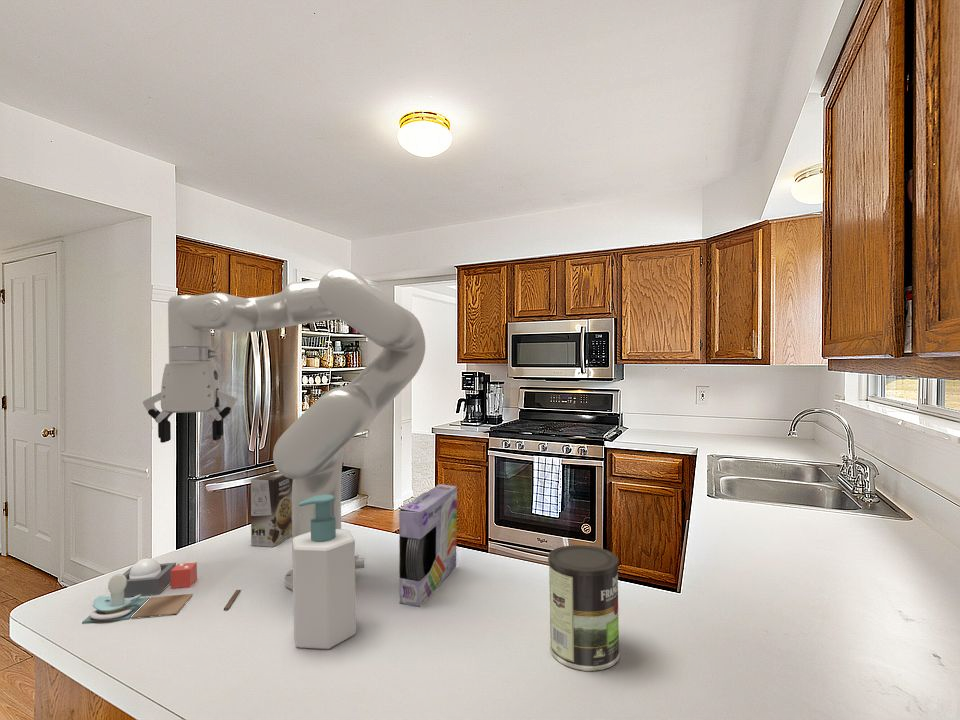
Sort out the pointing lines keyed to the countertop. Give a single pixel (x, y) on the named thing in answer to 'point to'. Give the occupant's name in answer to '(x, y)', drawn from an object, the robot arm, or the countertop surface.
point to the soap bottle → (323, 581)
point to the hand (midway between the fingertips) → (191, 440)
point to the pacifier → (113, 600)
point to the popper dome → (145, 569)
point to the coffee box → (271, 509)
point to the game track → (157, 607)
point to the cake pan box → (427, 543)
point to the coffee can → (584, 607)
